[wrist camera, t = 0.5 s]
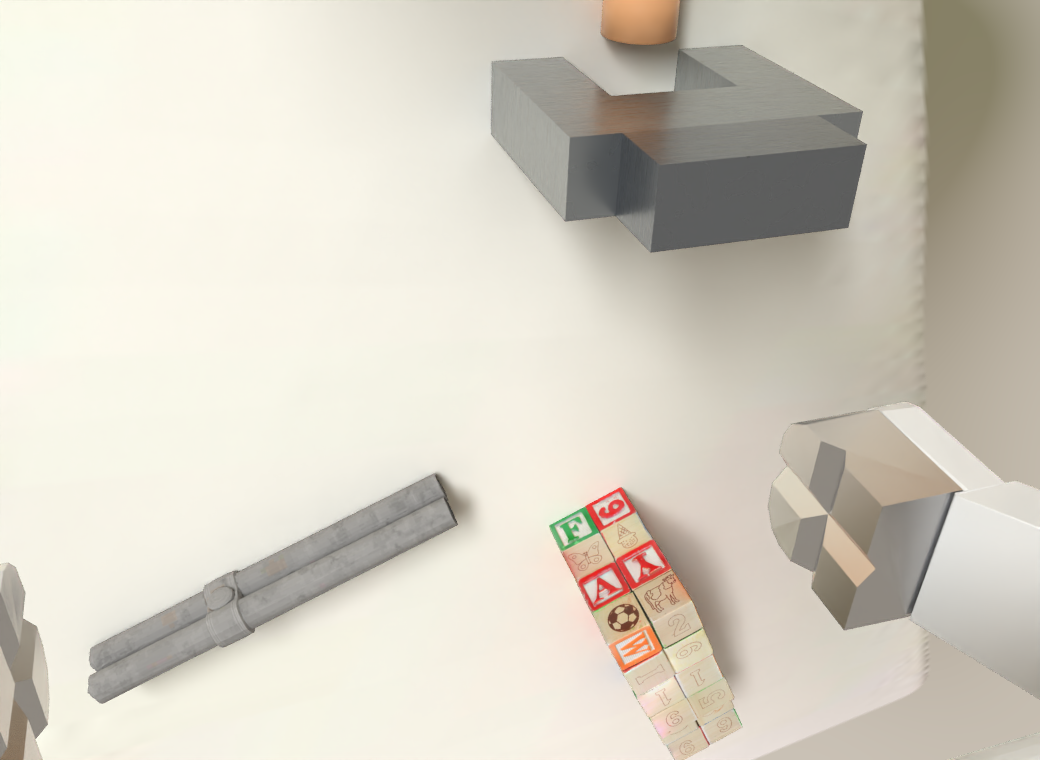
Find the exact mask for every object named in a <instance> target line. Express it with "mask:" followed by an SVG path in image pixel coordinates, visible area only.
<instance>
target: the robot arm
mask: <svg viewBox="0 0 1040 760" xmlns="http://www.w3.org/2000/svg"><path fill="white" fill-rule="evenodd" d="M779 453H780V455H781V457H782V458H783V460H784V461H785V463H786V464H787V466H786V468H785V469H784V470H783V471H782V472H781V473H780V475H779V476H778V477H777V478H776V479H775V480H774V482H773V483H772V487H771V492H770V498H769V503H768V509H769V515H770V521H771V527H772V530H773V533H774V535H775V537H776V539H777V542H778V544H779V546H780V547H781V548H782V550H783V551H784V552H785V554H786V555H787V557H788V558H789V559H790V561H792V562H794V563H796V564H798V565H800V566H802V567H804V568H806V569H808V570H810V571H812V572H813V576H812V589H813V591H814V592H815V593H816V595H817V596H818V597H819V598H820V600H821V601H822V602H823V604H824V605H825V606H826V608H827V609H828V610H829V611H830V613H831V614H832V615H833V617H834V618H835V619H836V620H837V622H838V623H839V624H840V626H841V627H842V628H843V629H844V630H848V629H852V628H857V627H862V626H866V625H871V624H876V623H880V622H885V621H890V620H894V619H899V618H904V617H908V616H911V617H910V620H911V621H912V622H914V623H915V624H917V625H919V626H920V627H922V628H924V629H925V630H927V631H929V632H930V633H932V634H933V635H935V636H937V637H939V638H940V639H942V640H943V641H945V642H946V643H948V644H950V645H951V646H953V647H955V648H956V649H958V650H960V651H961V652H963V653H964V654H966V655H968V656H969V657H971V658H973V659H974V660H976V661H978V662H979V663H981V664H982V665H984V666H986V667H987V668H989V669H991V670H992V671H994V672H995V673H997V674H999V675H1000V676H1002V677H1004V678H1005V679H1007V680H1009V681H1010V682H1012V683H1013V684H1015V685H1017V686H1018V687H1020V688H1022V689H1023V690H1025V691H1026V692H1028V693H1030V694H1031V695H1033V696H1035V697H1036V698H1038V699H1039V700H1040V490H1039V489H1037V488H1034V487H1031V486H1029V485H1026V484H1023V483H1021V482H1018V481H1013V482H1007V483H1005V482H1004V481H1002V480H1001V479H1000V478H999V477H998V476H997V475H996V474H995V473H993V472H992V471H991V470H990V469H989V468H988V467H987V466H986V465H984V464H983V463H982V462H981V461H980V460H979V459H978V458H977V457H975V456H974V455H973V454H972V453H971V452H970V451H968V449H966V448H965V447H964V446H963V445H962V444H961V443H960V442H959V441H957V440H956V439H955V438H954V437H953V436H952V435H951V434H950V433H948V432H947V431H946V430H945V429H944V428H943V427H942V426H941V425H939V424H938V423H937V422H936V421H935V420H934V419H933V418H931V417H930V416H929V415H928V414H927V413H926V412H925V411H924V410H923V409H922V408H920V407H919V406H917V405H914V404H912V403H909V402H906V401H905V402H900V403H895V404H890V405H885V406H880V407H875V408H870V409H867V410H866V411H858V412H853V413H848V414H842V415H837V416H831V417H826V418H821V419H815V420H810V421H804V422H799V423H794V424H791V425H790V426H789V428H788V429H787V431H786V432H785V433H784V435H783V438H782V443H781V447H780V451H779ZM24 601H25V590H24V588H23V585H22V583H21V580H20V577H19V575H18V572H17V569H16V567H15V566H13V565H11V564H10V563H4V564H0V760H43V759H42V756H41V754H40V751H39V748H38V745H37V742H36V740H35V739H36V738H37V737H38V736H39V734H40V733H41V732H42V731H43V729H44V728H45V727H46V726H47V725H48V713H49V684H48V669H47V663H46V658H45V653H44V648H43V644H42V641H41V638H40V635H39V632H38V628H37V626H35V625H34V624H32V623H30V622H28V621H26V620H25V619H23V610H24ZM948 760H1040V732H1039V733H1035V734H1032V735H1029V736H1025V737H1022V738H1019V739H1015V740H1012V741H1008V742H1005V743H1002V744H998V745H995V746H992V747H988V748H985V749H982V750H978V751H975V752H971V753H968V754H965V755H961V756H958V757H955V758H952V759H948Z"/></svg>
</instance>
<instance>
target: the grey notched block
mask: <svg viewBox="0 0 1040 760" xmlns="http://www.w3.org/2000/svg"><path fill="white" fill-rule="evenodd" d="M862 113H863V111H861V110H860V109H858V108H856V107H854V106H852V105H850V104H849V103H847V102H845V101H843V100H841V99H839V98H838V97H836V96H834V95H832V94H830V93H828V92H827V91H825V90H823V89H821V88H819V87H817V86H816V85H814V84H812V83H810V82H808V81H807V80H805V79H803V78H801V77H799V76H797V75H796V74H794V73H792V72H790V71H788V70H786V69H785V68H783V67H781V66H779V65H777V64H775V63H774V62H772V61H770V60H768V59H766V58H765V57H763V56H761V55H759V54H757V53H755V52H754V51H752V50H750V49H748V48H746V47H744V46H743V45H738V46H722V47H707V48H692V49H679V53H678V62H677V71H676V80H675V89H674V91H671V92H658V93H645V94H632V95H620V96H610V95H609V94H608V93H606V92H605V91H604V90H603V89H601V88H600V87H599V86H598V85H596V84H595V83H594V82H593V81H591V80H590V79H589V78H588V77H587V76H585V75H584V74H583V73H582V72H580V71H579V70H578V69H577V68H575V67H574V66H573V65H572V64H570V63H569V62H568V61H567V60H565V59H564V58H563V57H555V58H540V59H525V60H510V61H494V62H492V110H491V135H492V136H493V137H494V138H495V139H496V140H497V142H498V143H499V144H500V145H501V146H502V148H503V149H504V150H505V151H506V152H507V153H508V155H509V156H510V157H511V158H512V159H513V160H514V162H515V163H516V164H517V165H518V166H519V168H520V169H521V170H522V171H523V172H524V173H525V175H526V176H527V177H528V178H529V179H530V181H531V182H532V183H533V184H534V185H535V186H536V188H537V189H538V190H539V191H540V192H541V193H542V195H543V196H544V197H545V198H546V199H547V201H548V202H549V203H550V204H551V205H552V206H553V208H554V209H555V210H556V211H557V212H558V214H559V215H560V216H561V217H562V218H563V219H564V221H574V220H583V219H591V218H600V217H609V216H616V217H617V218H618V219H619V220H620V221H621V222H622V223H623V224H624V225H625V226H626V227H627V228H628V229H629V231H630V232H631V233H632V234H633V235H634V236H635V237H636V238H637V239H638V240H639V241H640V242H641V243H642V244H643V245H644V246H645V247H646V248H647V249H648V250H649V251H650V252H658V251H666V250H674V249H682V248H690V247H698V246H706V245H714V244H722V243H730V242H738V241H746V240H754V239H762V238H770V237H778V236H786V235H794V234H802V233H810V232H818V231H826V230H834V229H842V228H848V226H849V221H850V217H851V212H852V208H853V204H854V199H855V195H856V190H857V186H858V181H859V177H860V172H861V168H862V163H863V159H864V155H865V150H866V146H867V144H865V143H864V142H862V141H860V140H858V139H857V136H858V132H859V127H860V122H861V118H862Z"/></svg>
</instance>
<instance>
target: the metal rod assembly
mask: <svg viewBox="0 0 1040 760" xmlns="http://www.w3.org/2000/svg"><path fill="white" fill-rule="evenodd" d="M447 501H448V499H447V496H446V493H445V491H444V489H443V487H442V486H441V484H440V482H439V481H438V480H436V475H435V474H433V475H431V476H429V477H427V478H425V479H423V480H421V481H419V482H417V483H415V484H413V485H411V486H409V487H407V488H405V489H403V490H401V491H399V492H397V493H395V494H393V495H391V496H389V497H387V498H385V499H383V500H381V501H379V502H377V503H375V504H373V505H371V506H369V507H367V508H365V509H363V510H361V511H359V512H357V513H355V514H353V515H351V516H349V517H347V518H345V519H343V520H341V521H339V522H337V523H335V524H333V525H331V526H329V527H327V528H325V529H323V530H321V531H319V532H317V533H315V534H313V535H311V536H309V537H307V538H305V539H303V540H301V541H299V542H297V543H295V544H293V545H291V546H289V547H287V548H285V549H283V550H281V551H279V552H277V553H275V554H273V555H271V556H269V557H267V558H265V559H263V560H261V561H259V562H257V563H255V564H254V565H252V566H250V567H248V568H246V569H244V570H242V571H240V572H236V571H233V572H231V573H228V574H226V575H224V576H222V577H220V578H218V579H216V580H214V581H212V582H211V583H209V584H207V585H205V586H204V589H203V591H202V592H200V593H199V594H197V595H195V596H193V597H191V598H189V599H187V600H185V601H183V602H181V603H179V604H177V605H175V606H173V607H171V608H169V609H167V610H165V611H163V612H161V613H159V614H158V615H156V616H154V617H152V618H150V619H148V620H146V621H144V622H142V623H140V624H138V625H136V626H134V627H132V628H130V629H128V630H126V631H124V632H122V633H120V634H118V635H116V636H114V637H112V638H110V639H108V640H106V641H104V642H102V643H100V644H98V645H96V646H94V647H92V648H91V649H90V656H89V661H90V665H91V667H92V668H93V669H95V670H96V671H97V672H96V673H94V674H92V675H90V676H89V679H88V685H89V686H88V693H89V694H90V695H91V696H92V697H93V698H95V699H96V700H97V701H98V702H99V703H105V702H107V701H109V700H111V699H113V698H115V697H117V696H119V695H121V694H123V693H125V692H127V691H129V690H131V689H133V688H135V687H137V686H139V685H141V684H143V683H145V682H146V681H148V680H150V679H152V678H154V677H156V676H158V675H160V674H162V673H164V672H166V671H168V670H170V669H172V668H174V667H176V666H178V665H180V664H182V663H184V662H186V661H188V660H190V659H192V658H194V657H196V656H197V655H200V654H202V653H204V652H206V651H208V650H210V649H212V648H214V647H216V646H218V645H219V646H220V647H226V646H227V645H230V644H232V643H234V642H236V641H238V640H240V639H242V638H244V637H246V636H248V635H250V634H251V633H253V632H254V631H255V628H256V627H258V626H260V625H262V624H264V623H266V622H268V621H270V620H272V619H274V618H275V617H277V616H279V615H281V614H283V613H285V612H287V611H289V610H291V609H293V608H295V607H297V606H299V605H301V604H303V603H305V602H307V601H309V600H311V599H313V598H315V597H317V596H319V595H321V594H323V593H325V592H327V591H329V590H331V589H333V588H335V587H336V586H338V585H340V584H342V583H344V582H346V581H348V580H350V579H352V578H354V577H356V576H358V575H360V574H362V573H364V572H366V571H368V570H370V569H372V568H374V567H376V566H378V565H380V564H382V563H384V562H386V561H388V560H390V559H392V558H394V557H396V556H398V555H399V554H401V553H403V552H405V551H407V550H409V549H411V548H413V547H415V546H417V545H419V544H421V543H423V542H425V541H427V540H429V539H431V538H433V537H435V536H437V535H439V534H441V533H443V532H445V531H447V530H449V529H451V528H453V527H455V526H457V525H458V524H457V521H456V519H455V517H454V514H453V512H452V510H451V508H450V505H449V503H448V502H447Z"/></svg>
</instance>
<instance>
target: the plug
mask: <svg viewBox="0 0 1040 760" xmlns="http://www.w3.org/2000/svg"><path fill="white" fill-rule="evenodd" d="M679 7H680V0H603V6H602V21H601V35H602V36H603V37H605V38H607V39H609V40H612V41H616V42H621V43H627V44H637V45H654V44H663V43H668V42H671V41H673V40H675V39H676V35H677V26H678V16H679Z"/></svg>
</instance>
